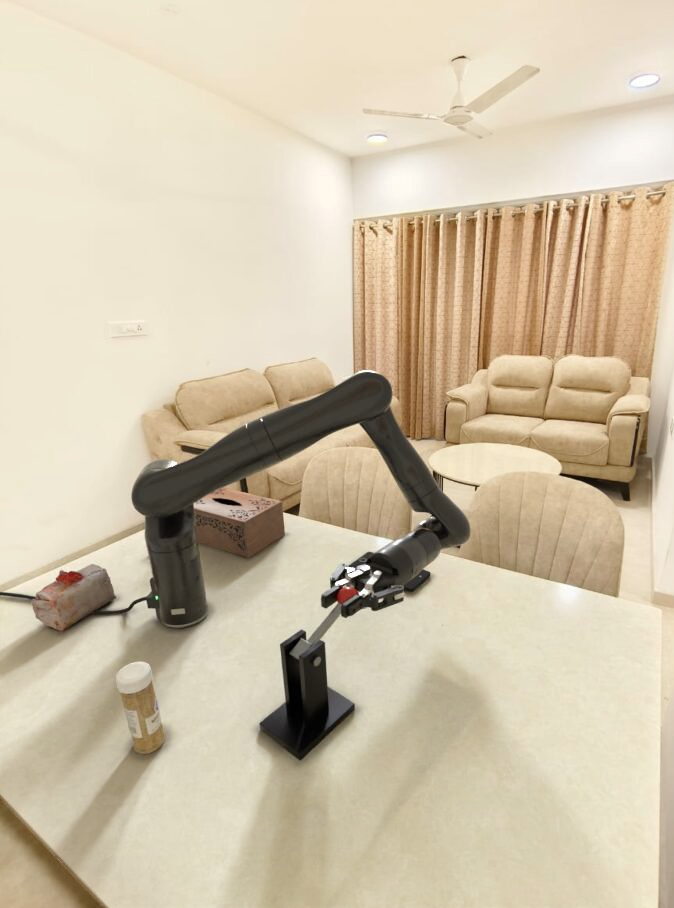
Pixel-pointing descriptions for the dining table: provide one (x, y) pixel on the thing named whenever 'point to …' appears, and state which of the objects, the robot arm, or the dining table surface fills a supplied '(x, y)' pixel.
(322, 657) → the bracket
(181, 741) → the dining table surface
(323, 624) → the lever
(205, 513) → the tissue box cover
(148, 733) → the sprinkles bottle
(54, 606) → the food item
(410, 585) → the cell phone
